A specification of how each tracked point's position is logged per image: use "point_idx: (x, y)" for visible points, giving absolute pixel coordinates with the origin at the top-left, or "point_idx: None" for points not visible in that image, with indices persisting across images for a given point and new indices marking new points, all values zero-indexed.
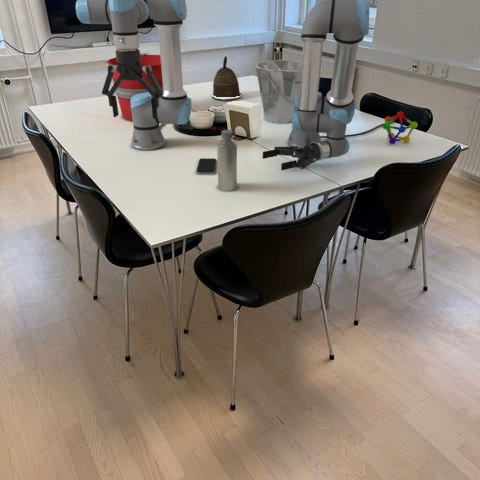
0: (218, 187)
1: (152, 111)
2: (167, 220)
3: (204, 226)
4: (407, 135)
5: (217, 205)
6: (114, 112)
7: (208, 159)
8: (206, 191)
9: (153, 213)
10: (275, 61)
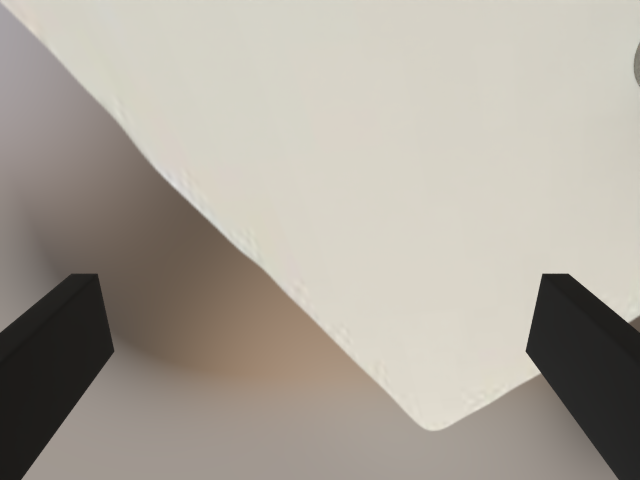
0: (636, 73)
1: (570, 407)
2: (449, 335)
3: None
4: None
5: (614, 225)
6: (80, 383)
7: None
8: (578, 112)
9: (396, 302)
10: None
